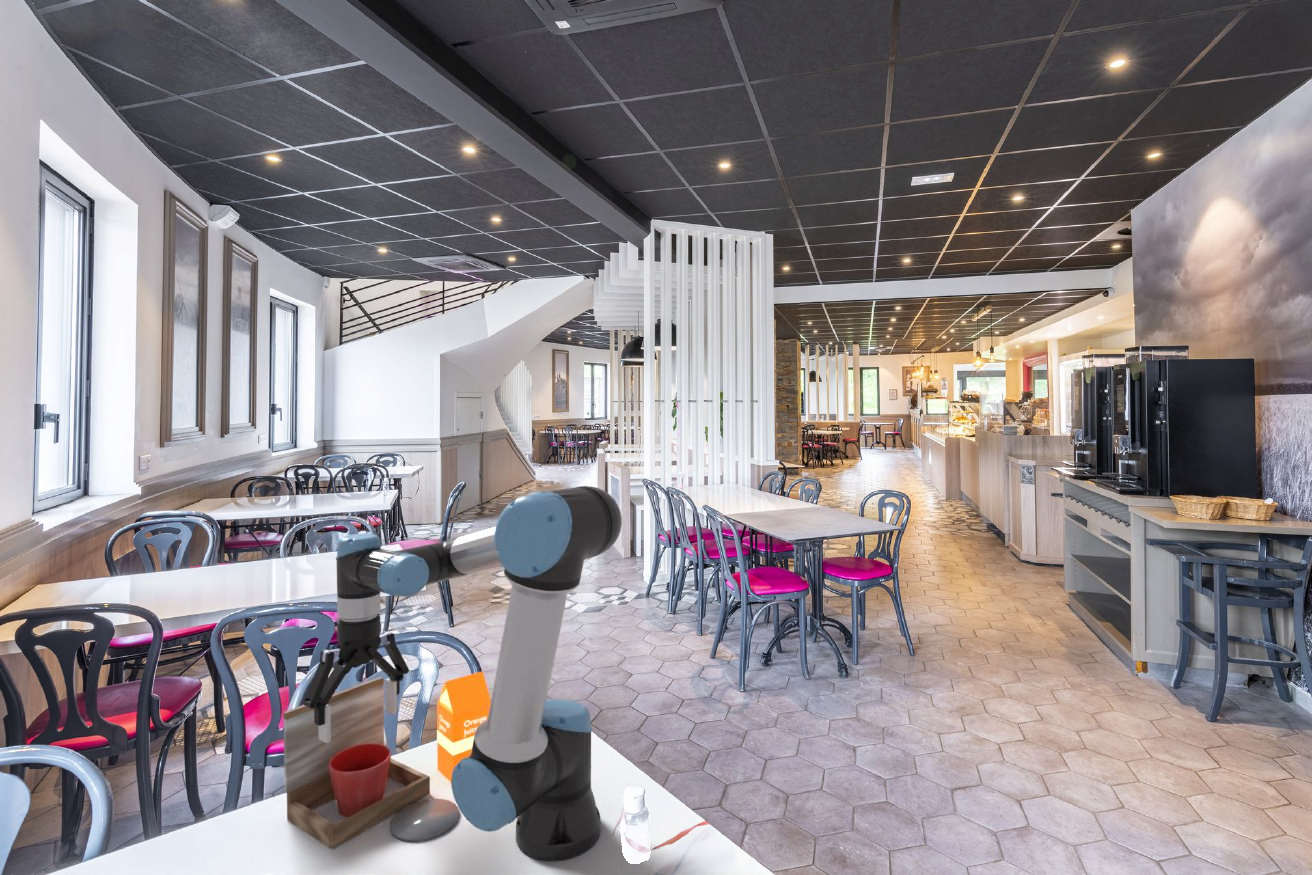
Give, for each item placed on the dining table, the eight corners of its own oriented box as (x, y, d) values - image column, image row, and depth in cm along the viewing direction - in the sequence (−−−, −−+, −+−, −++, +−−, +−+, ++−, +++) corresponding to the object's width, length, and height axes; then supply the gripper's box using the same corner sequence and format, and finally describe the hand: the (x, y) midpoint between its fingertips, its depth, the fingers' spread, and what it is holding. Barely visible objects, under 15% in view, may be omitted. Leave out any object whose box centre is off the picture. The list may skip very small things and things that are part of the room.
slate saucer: (472, 815, 122) (472, 811, 122) (417, 850, 112) (417, 846, 112) (431, 794, 129) (431, 791, 129) (376, 826, 119) (376, 822, 119)
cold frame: (429, 793, 129) (429, 694, 129) (332, 849, 112) (331, 735, 112) (377, 767, 139) (376, 675, 138) (280, 815, 122) (279, 710, 121)
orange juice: (436, 769, 138) (436, 676, 138) (475, 755, 144) (475, 665, 144) (453, 784, 132) (452, 687, 132) (492, 769, 138) (492, 676, 138)
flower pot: (368, 827, 119) (368, 774, 118) (316, 819, 121) (315, 768, 121) (402, 794, 129) (402, 746, 129) (353, 787, 131) (353, 740, 131)
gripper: (403, 597, 136) (403, 697, 137) (281, 629, 116) (282, 747, 116) (426, 604, 132) (426, 706, 133) (303, 638, 111) (304, 759, 112)
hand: (359, 725), depth 125 cm, fingers open, 13 cm apart
